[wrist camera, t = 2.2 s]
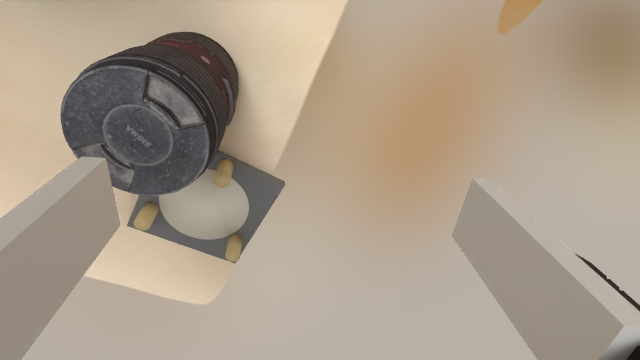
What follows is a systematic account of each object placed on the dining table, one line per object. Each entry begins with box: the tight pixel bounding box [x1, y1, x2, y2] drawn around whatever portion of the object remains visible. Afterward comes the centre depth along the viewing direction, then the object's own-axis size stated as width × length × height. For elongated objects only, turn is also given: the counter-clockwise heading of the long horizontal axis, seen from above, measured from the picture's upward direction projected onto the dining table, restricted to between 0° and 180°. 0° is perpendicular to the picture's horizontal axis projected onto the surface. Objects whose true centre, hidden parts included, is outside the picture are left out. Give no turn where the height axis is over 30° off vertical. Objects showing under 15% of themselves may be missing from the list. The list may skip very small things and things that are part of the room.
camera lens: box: [61, 32, 238, 196], centre depth 25 cm, size 8×8×15 cm
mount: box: [127, 151, 285, 263], centre depth 36 cm, size 13×13×4 cm
